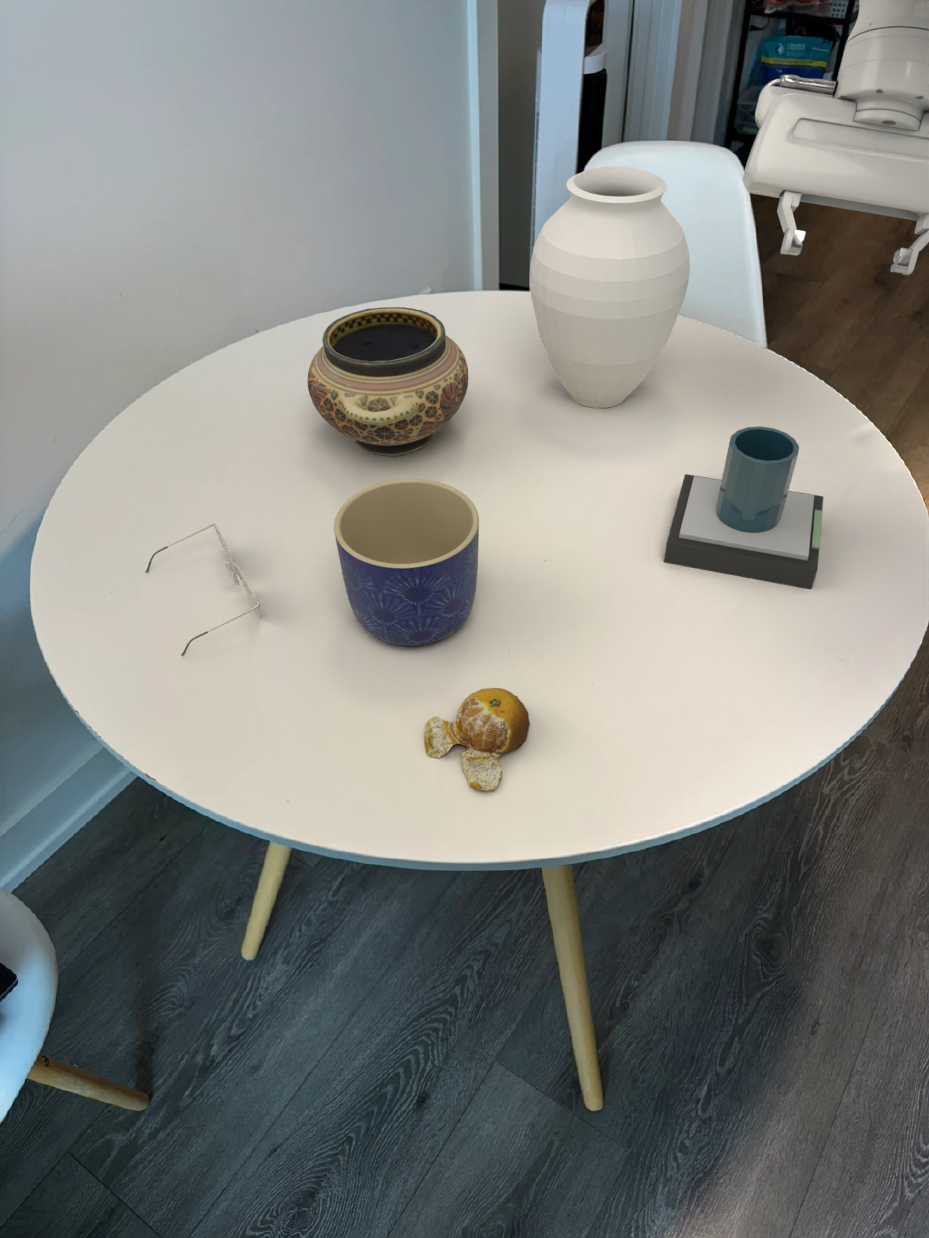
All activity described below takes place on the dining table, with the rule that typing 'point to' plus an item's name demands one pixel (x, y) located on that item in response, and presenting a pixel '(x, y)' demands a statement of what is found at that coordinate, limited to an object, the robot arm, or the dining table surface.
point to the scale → (745, 537)
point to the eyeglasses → (234, 577)
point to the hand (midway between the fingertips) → (845, 263)
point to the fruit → (481, 734)
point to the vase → (608, 282)
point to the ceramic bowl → (388, 378)
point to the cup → (756, 479)
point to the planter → (409, 559)
